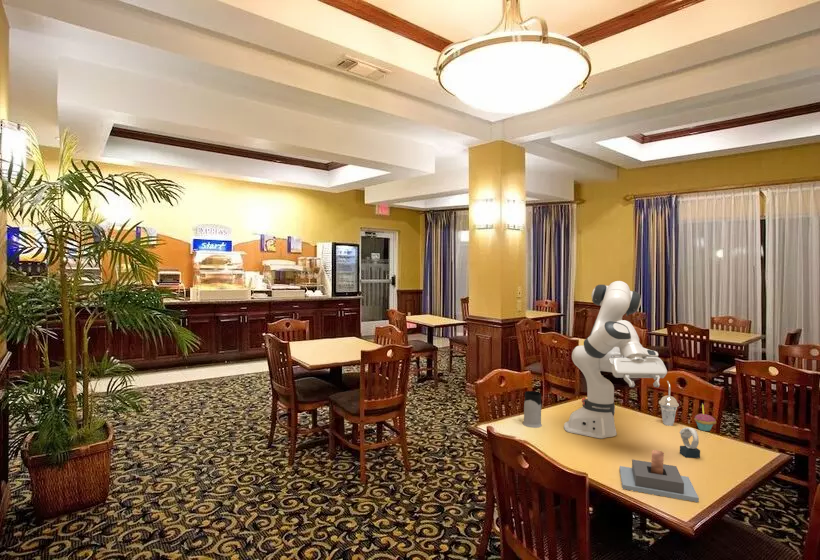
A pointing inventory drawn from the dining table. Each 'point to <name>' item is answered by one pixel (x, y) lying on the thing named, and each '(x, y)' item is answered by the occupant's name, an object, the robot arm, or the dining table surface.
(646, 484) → the tool stand
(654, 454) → the brown upright cylinder
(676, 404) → the cup with straw
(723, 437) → the dining table surface
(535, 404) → the glass holder
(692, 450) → the watch
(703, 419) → the cupcake
